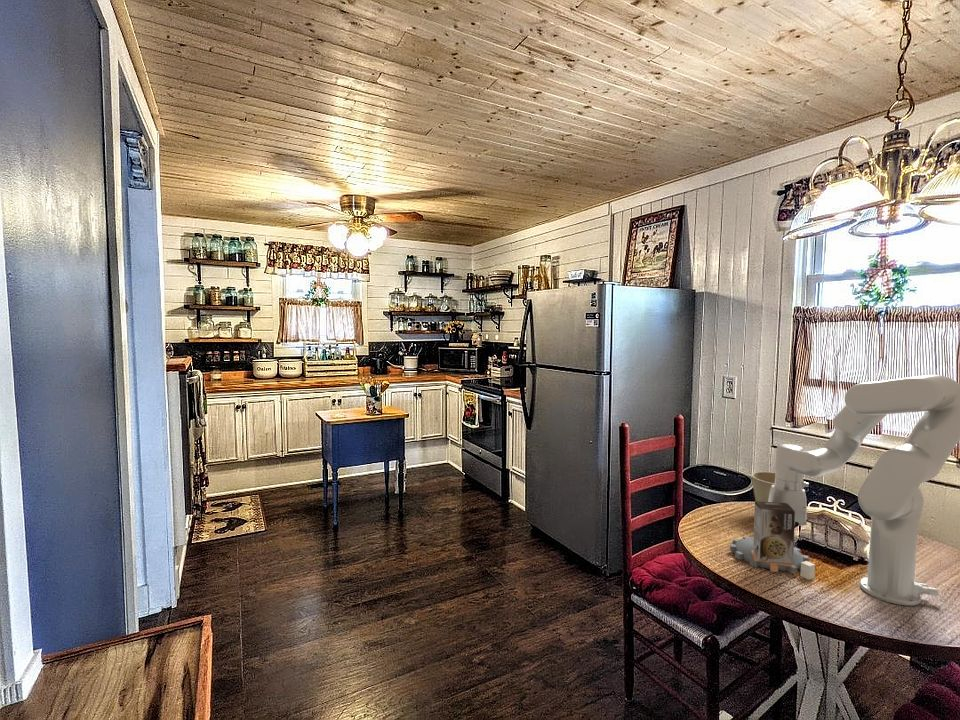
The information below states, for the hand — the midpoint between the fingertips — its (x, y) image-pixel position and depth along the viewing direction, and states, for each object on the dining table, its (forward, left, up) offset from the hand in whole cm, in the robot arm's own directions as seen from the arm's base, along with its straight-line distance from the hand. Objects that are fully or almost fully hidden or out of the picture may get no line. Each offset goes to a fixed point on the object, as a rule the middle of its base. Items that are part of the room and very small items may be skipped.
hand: (785, 540), depth 155 cm
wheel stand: (+3, +10, -4) cm, 11 cm away
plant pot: (-1, -28, -4) cm, 28 cm away
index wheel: (+6, +6, -3) cm, 9 cm away
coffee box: (+6, +13, -1) cm, 14 cm away
